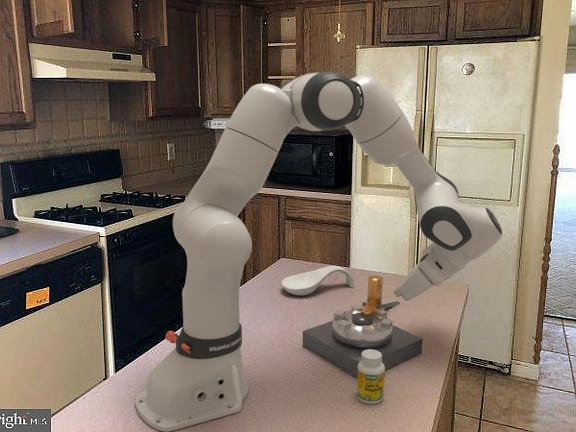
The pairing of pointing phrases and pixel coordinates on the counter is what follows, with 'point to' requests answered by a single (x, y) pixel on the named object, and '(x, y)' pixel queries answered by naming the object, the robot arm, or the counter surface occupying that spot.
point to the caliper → (385, 304)
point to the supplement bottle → (370, 377)
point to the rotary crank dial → (364, 320)
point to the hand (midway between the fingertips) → (396, 293)
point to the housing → (360, 348)
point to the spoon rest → (312, 280)
